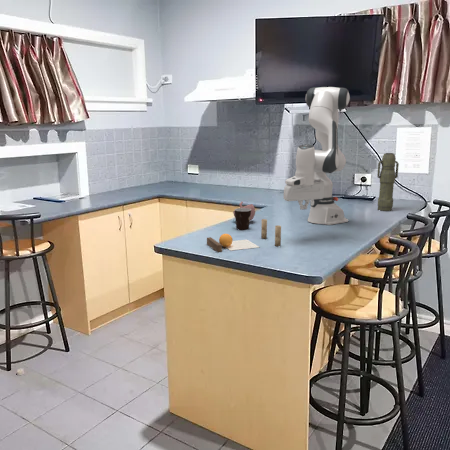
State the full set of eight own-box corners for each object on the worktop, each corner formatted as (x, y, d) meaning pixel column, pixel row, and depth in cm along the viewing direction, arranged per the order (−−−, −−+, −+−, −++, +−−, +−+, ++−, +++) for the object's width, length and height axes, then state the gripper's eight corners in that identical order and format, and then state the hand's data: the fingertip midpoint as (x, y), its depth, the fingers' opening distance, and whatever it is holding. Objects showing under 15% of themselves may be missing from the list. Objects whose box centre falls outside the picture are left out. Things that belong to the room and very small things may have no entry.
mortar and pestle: (242, 218, 265) (242, 199, 263) (259, 221, 258) (259, 201, 255) (228, 222, 256) (228, 202, 254) (246, 225, 249) (246, 204, 246)
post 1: (265, 237, 225) (265, 219, 223) (267, 238, 223) (268, 220, 221) (260, 237, 224) (260, 219, 222) (262, 238, 222) (263, 220, 220)
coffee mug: (241, 225, 249) (241, 207, 246) (254, 228, 243) (254, 209, 241) (227, 229, 240) (227, 210, 238) (240, 232, 235) (240, 212, 232)
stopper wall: (210, 243, 214) (210, 237, 213) (221, 251, 201) (221, 244, 201) (206, 244, 213) (206, 237, 213) (217, 252, 201) (217, 245, 200)
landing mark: (246, 239, 220) (246, 239, 220) (259, 247, 208) (259, 247, 208) (219, 242, 215) (219, 242, 215) (230, 250, 203) (230, 250, 203)
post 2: (278, 244, 213) (279, 225, 210) (281, 245, 210) (282, 226, 208) (273, 245, 212) (274, 225, 210) (276, 246, 209) (277, 227, 207)
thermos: (397, 211, 286) (402, 153, 278) (378, 211, 285) (382, 153, 277) (391, 208, 295) (396, 152, 287) (373, 208, 294) (377, 152, 286)
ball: (230, 232, 211) (218, 231, 209) (235, 236, 206) (223, 235, 204) (228, 245, 213) (216, 244, 210) (233, 249, 207) (220, 248, 205)
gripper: (320, 178, 223) (318, 206, 227) (282, 180, 216) (281, 209, 219) (327, 179, 218) (326, 209, 221) (288, 182, 210) (288, 212, 214)
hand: (303, 209), depth 220 cm, fingers closed
